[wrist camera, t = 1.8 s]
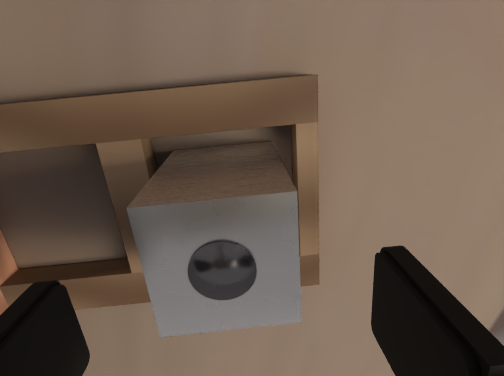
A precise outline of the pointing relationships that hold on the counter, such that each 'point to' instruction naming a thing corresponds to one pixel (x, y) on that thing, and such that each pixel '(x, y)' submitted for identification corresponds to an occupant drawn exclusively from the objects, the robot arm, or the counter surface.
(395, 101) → the counter surface
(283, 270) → the steel plug
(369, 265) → the counter surface
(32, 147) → the rail
